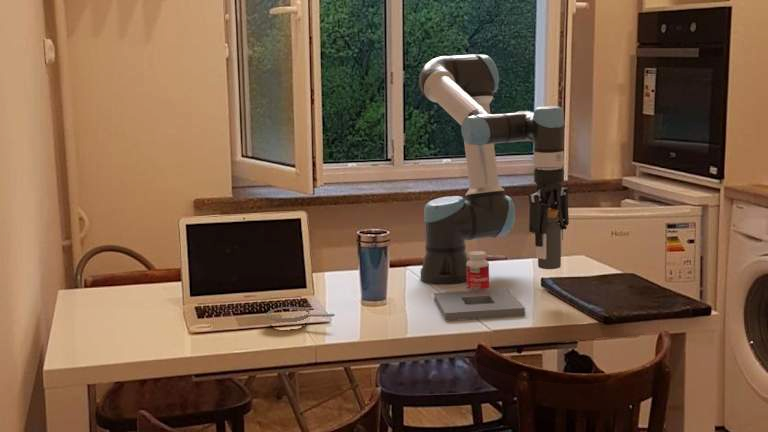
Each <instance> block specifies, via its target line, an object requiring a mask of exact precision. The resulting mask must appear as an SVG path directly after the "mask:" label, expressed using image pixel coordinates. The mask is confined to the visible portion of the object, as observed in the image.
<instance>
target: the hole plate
mask: <svg viewBox="0 0 768 432" xmlns="http://www.w3.org/2000/svg"><path fill="white" fill-rule="evenodd" d="M433 295H434V296H433V297H434V298H433V300H434V302H435V304H436V306H437V309H438V310H439V309H440V310H439V311H441V312H440V313H442V314H441V315H442V317H443V316H444V317H443V319H444V318H445V319H444V321H445V320H453V321H459V320H458V319H468V320H479V319H480V318H483V319H495V318H496V317H497V318H509V317H525V316H526V308H525V306H524V305H523V304H522V303H521V302H520V301H519V300H518V298H517V297H516V296H515V294H514V293H512V292H511V290H510V289H509V288H496V289H495V288H494V289H493V288H492V289H491V288H490V289H489V290H476V291H467V290H466V291H465V290H463V291H449V292H447V291H446V292H434V294H433Z"/></svg>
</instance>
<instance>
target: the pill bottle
mask: <svg viewBox="0 0 768 432" xmlns="http://www.w3.org/2000/svg"><path fill="white" fill-rule="evenodd" d="M486 258H487V253H486V252H485V251H482V250H474V251H469V252H468V261H467V263H466V277H467V281H466V291H476V290H490V266H489V265H490V264H489V263H490V262H489V261H488V260H487V259H486Z"/></svg>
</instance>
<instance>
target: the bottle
mask: <svg viewBox="0 0 768 432" xmlns="http://www.w3.org/2000/svg"><path fill="white" fill-rule="evenodd" d="M557 215H558V210H557V209H550V208H549V209H548V213H547V219H546V224H545V230H544V234H546V259H540V258H537V267H538V268H539V269H543V270H557V269H560V268H561V266H562V265H561V264H562V263H561V262H562V254H561V227H560V226H559V225H557V222H558V221H559V217H558V216H557Z"/></svg>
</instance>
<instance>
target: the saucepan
mask: <svg viewBox="0 0 768 432" xmlns="http://www.w3.org/2000/svg"><path fill="white" fill-rule="evenodd" d="M281 309H299V310H303V311H306V312H308V314H306V315H304V316H300V317H295V318H272V317H269V316H268V314H270V313H272V312H274V311H277V310H281ZM310 311H311V310H310V309H309V308H307V307H302V306H283V307H277V308H274V309H271V310H269V311H267V313H266V319H267V318H268V319H270V320H273V321H276V322H289V323H290V322H297V321H301V320H304V319H306V318H308V317H309V318H310V317H315V318H316V317H319V318H320V317H324V318H325V317H330V318H331V317H332V318H333V317H334V316H336V315H335V313H310Z"/></svg>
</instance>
